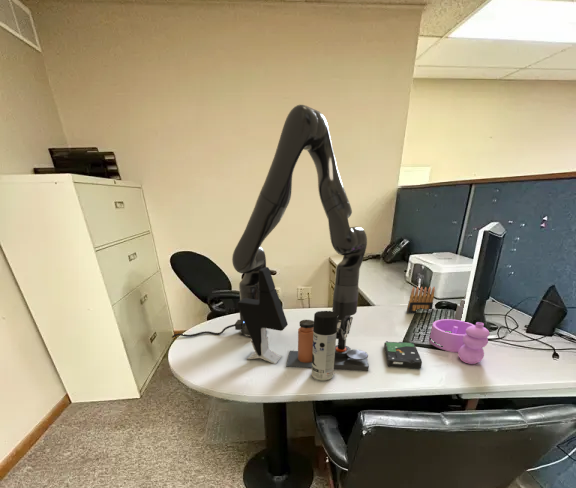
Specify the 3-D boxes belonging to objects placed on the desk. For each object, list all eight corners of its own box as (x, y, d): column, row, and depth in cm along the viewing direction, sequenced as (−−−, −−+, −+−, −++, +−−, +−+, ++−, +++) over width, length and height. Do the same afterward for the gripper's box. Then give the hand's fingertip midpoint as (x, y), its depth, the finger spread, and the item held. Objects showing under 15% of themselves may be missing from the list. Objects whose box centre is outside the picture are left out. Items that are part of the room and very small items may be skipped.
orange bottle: (297, 362, 107) (297, 325, 101) (298, 354, 112) (299, 318, 106) (314, 363, 107) (315, 326, 100) (315, 355, 111) (316, 319, 105)
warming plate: (346, 359, 102) (346, 358, 102) (345, 350, 108) (346, 349, 108) (368, 360, 101) (368, 359, 101) (366, 351, 107) (366, 349, 107)
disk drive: (421, 370, 103) (412, 349, 116) (423, 362, 102) (414, 341, 115) (387, 367, 105) (383, 347, 117) (389, 360, 103) (384, 340, 116)
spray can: (310, 370, 103) (311, 310, 93) (331, 369, 104) (335, 309, 94) (313, 381, 97) (315, 318, 88) (335, 380, 98) (340, 317, 88)
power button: (335, 355, 108) (335, 350, 107) (335, 350, 111) (335, 345, 110) (346, 355, 108) (346, 351, 107) (345, 350, 111) (346, 346, 110)
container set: (423, 334, 127) (430, 301, 120) (462, 334, 127) (472, 301, 120) (450, 366, 105) (460, 328, 99) (498, 366, 105) (511, 328, 98)
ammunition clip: (429, 311, 149) (435, 285, 143) (431, 313, 147) (437, 287, 142) (406, 311, 149) (411, 285, 143) (407, 313, 148) (412, 287, 142)
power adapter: (468, 323, 136) (476, 295, 131) (455, 322, 137) (462, 295, 131) (466, 320, 139) (474, 293, 133) (453, 320, 140) (460, 292, 134)
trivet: (286, 367, 105) (286, 365, 105) (290, 351, 115) (290, 350, 115) (320, 368, 104) (320, 367, 104) (321, 353, 114) (321, 352, 113)
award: (288, 357, 111) (287, 268, 96) (283, 365, 107) (281, 272, 92) (247, 351, 115) (241, 264, 100) (241, 358, 111) (233, 268, 96)
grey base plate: (323, 369, 104) (323, 359, 102) (324, 353, 114) (324, 344, 112) (368, 371, 103) (369, 361, 101) (364, 355, 112) (366, 345, 111)
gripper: (340, 290, 107) (337, 339, 115) (326, 302, 96) (323, 354, 105) (363, 293, 104) (358, 342, 112) (350, 305, 93) (346, 359, 102)
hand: (341, 348), depth 109 cm, fingers closed
